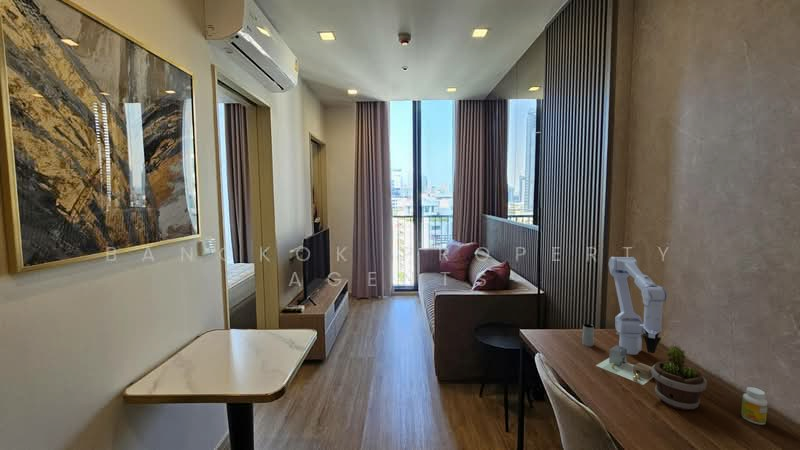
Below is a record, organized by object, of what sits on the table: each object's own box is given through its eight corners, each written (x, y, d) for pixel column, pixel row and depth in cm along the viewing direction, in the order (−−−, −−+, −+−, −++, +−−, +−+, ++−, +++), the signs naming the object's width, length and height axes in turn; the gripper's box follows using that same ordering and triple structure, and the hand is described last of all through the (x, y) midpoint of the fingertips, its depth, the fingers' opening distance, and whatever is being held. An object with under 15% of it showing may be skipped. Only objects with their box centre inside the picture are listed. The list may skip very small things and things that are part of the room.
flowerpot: (711, 422, 104) (716, 362, 102) (651, 406, 112) (654, 350, 110) (700, 397, 116) (704, 343, 114) (646, 385, 124) (649, 334, 123)
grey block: (615, 358, 142) (616, 345, 142) (626, 362, 139) (626, 348, 138) (609, 362, 139) (609, 349, 138) (619, 366, 135) (620, 352, 135)
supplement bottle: (736, 414, 107) (738, 386, 106) (751, 413, 108) (753, 385, 107) (755, 425, 102) (757, 396, 101) (771, 424, 102) (773, 395, 102)
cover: (638, 369, 133) (639, 362, 132) (653, 374, 129) (653, 367, 128) (633, 373, 130) (633, 366, 130) (647, 379, 126) (648, 371, 126)
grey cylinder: (589, 349, 153) (590, 328, 152) (580, 345, 157) (580, 325, 156) (595, 347, 155) (596, 326, 154) (586, 343, 159) (586, 323, 158)
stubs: (636, 376, 128) (636, 373, 128) (640, 378, 127) (641, 374, 126) (632, 380, 126) (632, 376, 126) (636, 381, 125) (636, 377, 124)
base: (610, 359, 144) (611, 352, 144) (657, 376, 130) (657, 369, 129) (595, 368, 137) (595, 361, 136) (642, 388, 123) (643, 379, 122)
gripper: (641, 309, 139) (639, 339, 140) (639, 319, 128) (638, 353, 129) (662, 312, 135) (660, 344, 136) (662, 324, 123) (660, 358, 124)
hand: (651, 348), depth 132 cm, fingers open, 7 cm apart
